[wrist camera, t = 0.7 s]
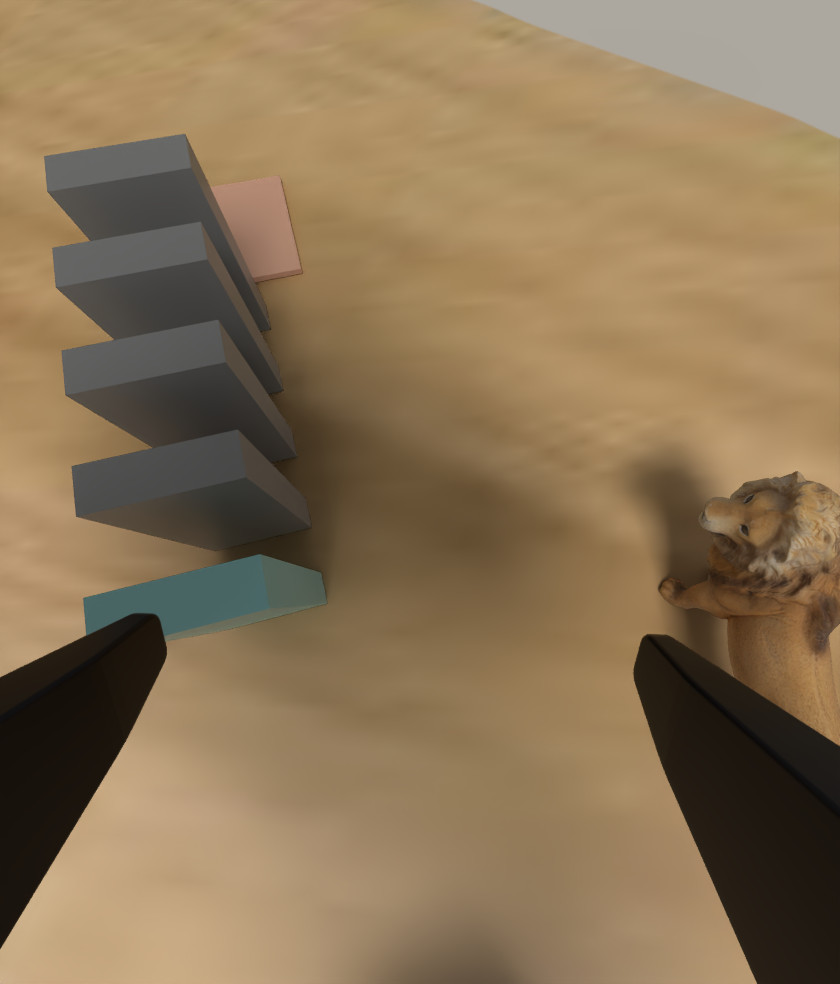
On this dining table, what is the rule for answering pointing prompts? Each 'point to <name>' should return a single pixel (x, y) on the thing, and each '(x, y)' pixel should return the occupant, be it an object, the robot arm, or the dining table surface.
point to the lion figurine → (776, 591)
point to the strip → (260, 226)
